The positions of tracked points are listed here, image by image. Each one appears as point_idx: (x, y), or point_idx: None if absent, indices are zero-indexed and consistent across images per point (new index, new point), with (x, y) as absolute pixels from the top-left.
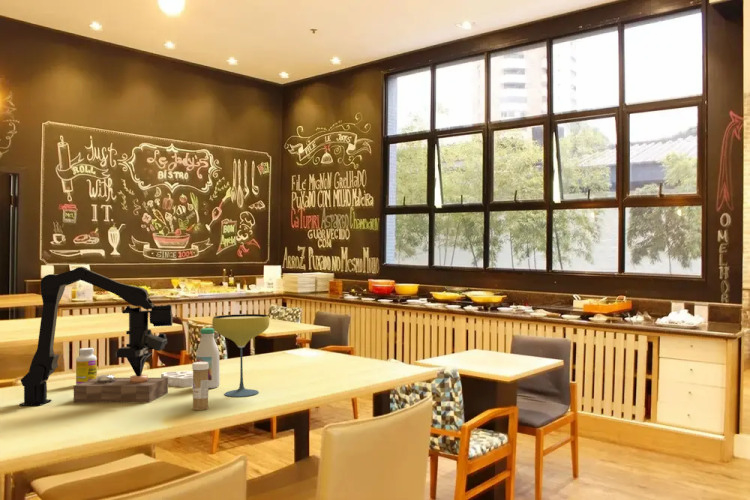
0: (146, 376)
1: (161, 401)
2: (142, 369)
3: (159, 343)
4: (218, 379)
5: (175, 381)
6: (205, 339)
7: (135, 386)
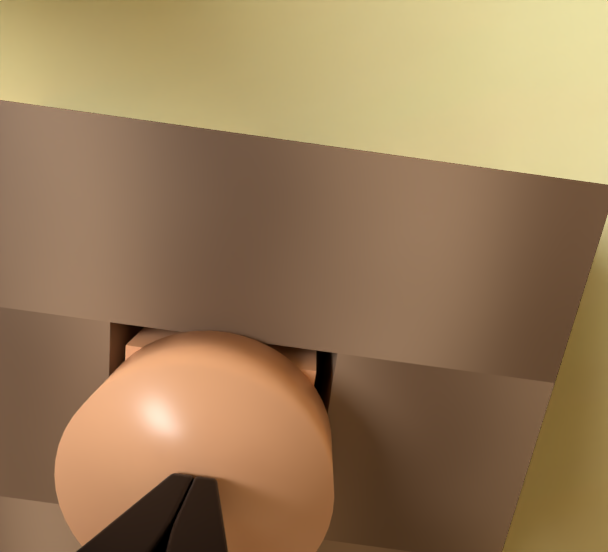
0: (220, 368)
1: (477, 51)
2: (110, 541)
3: None
4: None
5: None
6: None
7: (546, 389)
